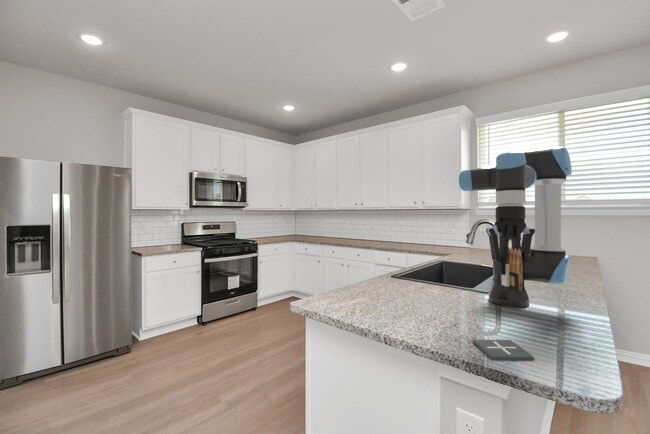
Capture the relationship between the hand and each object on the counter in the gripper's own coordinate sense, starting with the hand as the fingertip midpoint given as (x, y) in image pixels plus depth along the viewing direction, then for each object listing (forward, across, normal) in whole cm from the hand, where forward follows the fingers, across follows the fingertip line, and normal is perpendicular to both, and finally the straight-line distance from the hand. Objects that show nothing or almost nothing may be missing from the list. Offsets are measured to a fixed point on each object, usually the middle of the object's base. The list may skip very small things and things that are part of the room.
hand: (509, 285), depth 90 cm
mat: (+18, +4, +4) cm, 19 cm away
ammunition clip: (+1, 0, 0) cm, 1 cm away
